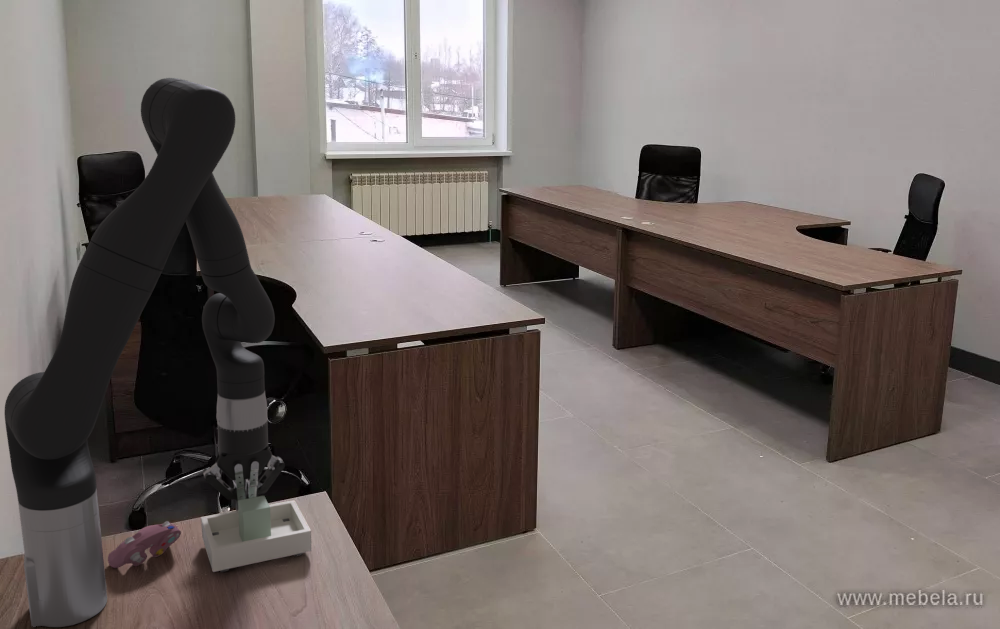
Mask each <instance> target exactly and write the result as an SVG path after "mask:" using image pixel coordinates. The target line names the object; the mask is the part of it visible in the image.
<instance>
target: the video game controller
mask: <svg viewBox="0 0 1000 629" xmlns="http://www.w3.org/2000/svg"><path fill="white" fill-rule="evenodd" d="M181 533H182V532H181V530H180V529H179V528H178V526H177V525H175V524H174V523H172V522H169V520H165V521H164V522H163V523H161V524H154V525H153V524H152V525H151V524H150V525H148V526H144V527H142V528H141V529H139V531H137V532H136V533H134V534H133V535H132V536H128V537H127V538H126V539H125V540H123V541H122V542H121V543H119V545H118V546H117V547H116V548H115V549H114V550H112V551H111V552H109V554H108V555H107V562H108V565H109V566H110V567H111V568H114V569H117V568H121V567H124V566H125V565H126V564H127V565H128V564H132V566H134V567H138V566H140V565H142V564H143V563H145V561H146V560H147V558H148V554H147V553H146V550H148V549H149V553H150V555H151V557H153V558H158V557H159V556H162V555H163V554H164V553H165V552H166V551H167V549H168V548H169V547H170V546H172V545H173V544H174V543H175V542H176V541H178V540H179V538H180V537H181Z"/></svg>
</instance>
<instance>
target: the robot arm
mask: <svg viewBox="0 0 1000 629" xmlns="http://www.w3.org/2000/svg"><path fill="white" fill-rule="evenodd" d="M140 117H141V121H142V124H143V127H144V130H145V132H146V134H147V136H148V138H149V140H150V143H151V145H152V148H154V151H155V153H156V155H157V156H156V158H155V160H154V162H153V164H152V165H151V168H150V170H149V171H148V174H147V175H146V177H145V178H144V179H143V181H142V182H141V184H140V185H139V186H138V187H137V188H136V189H135V190H134V191H133V192H132V193H130V195H128V196H127V197H126V198H125V199H124V200H123V201H122V202H121V203H119V204H118V205H117V206H116V207H115V208H114V209H113V210H112V211H111V212H110V213H109V214H107V215H106V217H105V218H104V219H103V220H102V221H101V223H100V224H99V225H98V227H97V228H96V230H95V231H94V233H93V234H92V236H91V238H90V240H89V243H88V245H87V247H86V249H85V251H84V253H83V255H82V257H81V259H80V261H79V264H78V266H77V268H76V271H75V274H74V276H73V280H72V282H71V283H72V284H71V286H70V290H69V294H68V298H67V305H66V308H65V315H64V320H63V324H62V325H63V326H62V331H61V333H60V338H59V341H58V343H57V346H56V349H55V351H54V353H53V356H52V357H51V359H50V361H49V363H48V365H47V367H46V368H45V371H42V372H36V373H33V374H30V375H28V376H25V377H23V378H22V379H21V380H20V381H18V382H17V383H15V385H14V386H13V387H12V389H11V390H10V391H9V392H8V395H7V396H6V399H5V404H4V422H5V430H6V432H5V433H6V437H7V445H8V451H9V458H10V466H11V474H12V478H13V481H14V485H15V490H16V495H17V503H18V513H19V519H20V528H21V536H22V543H23V544H22V545H23V550H24V555H23V556H24V559H23V569H24V576H25V585H26V593H27V594H26V595H27V600H28V601H27V602H28V609H29V611H28V612H29V617H30V618H29V619H30V623H31V625H30V626H31V627H32V626H33V627H32V628H36V626H37V627H41V626H42V627H48V628H62V627H63V628H65V627H70V626H74V625H76V624H80V623H83V622H86V621H87V620H89V619H91V618H93V617H94V616H97V615H98V614H99V613H100V612H102V610H103V609H104V608H105V607H106V605H107V602H108V594H107V592H108V591H107V590H108V589H107V583H106V582H107V581H106V571H105V560H104V551H103V541H102V540H103V539H102V532H101V531H102V530H101V520H100V510H99V501H98V500H99V498H98V489H97V487H98V486H97V476H96V470H95V467H94V464H93V460H92V457H91V453H90V448H89V444H88V443H89V441H88V438H89V437H90V435H91V434H92V432H93V431H94V428H95V426H96V422H97V420H98V417H99V414H100V411H101V408H102V405H103V402H104V399H105V395H106V393H107V390H108V388H109V384H110V381H111V378H112V376H113V373H114V371H115V368H116V366H117V364H118V361H119V359H120V357H121V355H122V353H123V351H124V350H125V348H126V346H127V344H128V341H129V340H130V338H131V336H132V333H133V331H134V329H135V327H136V325H137V323H138V321H139V319H140V317H141V315H142V312H143V311H144V309H145V307H146V305H147V303H148V301H149V300H150V298H151V295H152V293H153V291H154V289H155V287H156V285H157V283H158V281H159V278H160V276H161V274H162V273H163V271H164V268H165V265H166V263H167V261H168V258H169V257H170V254H171V251H172V249H173V247H174V245H175V244H176V241H177V238H178V237H179V234H180V233H181V230H183V227H184V225H185V224H186V227H187V231H188V232H189V236H190V239H191V243H192V248H193V251H194V253H195V258H196V261H197V264H198V269H199V271H200V274H201V279H202V280H203V283H204V285H205V286H206V287H208V289H211V290H212V291H214V292H217V293H215V294H212V296H210V297H209V298H208V299H207V301H206V302H205V304H204V307H203V309H202V315H201V323H202V324H201V325H202V330H203V334H204V336H205V339H206V343H207V345H208V348H209V352H210V355H211V357H212V360H213V363H214V365H215V369H216V382H217V384H216V386H217V401H216V415H215V417H216V421H217V422H216V424H217V440H218V441H217V443H218V444H217V446H218V453H217V455H216V456H215V463H214V464H213V465H211V467H207V468H204V469H203V470H202V473H203V478H204V479H205V481H206V482H207V483H208V484H209V485H210V486H212V487H213V488H214V489H215V490H216V491H217V492H218V493H219V494H220V495H221V496H223V497H224V498H225V499H226V500H227V501H230V500H235V511H237V510H238V500H243V499H249V498H254V497H258V496H259V495H261V494H262V495H264V494H266V493H268V491H269V490H270V489H271V487H272V485H273V484H274V483H275V481H276V480H277V478H278V477H279V476H280V475H281V473H282V472H283V470H284V469H285V467H286V463H285V462H284V461H283V459H282V457H280V456H275V455H273V453H272V451H271V450H270V448H269V430H268V429H269V428H268V426H269V424H268V423H269V420H268V402H267V397H266V389H265V387H266V386H265V382H266V381H265V363H264V360H263V358H262V357H261V356H260V355H258V354H256V353H255V352H253V351H250V350H248V349H246V348H245V347H244V346H243V343H248V344H259V343H263V342H264V341H265V340H267V339H268V338H269V337H270V336H271V335H272V332H273V330H274V327H275V322H276V317H275V311H274V307H273V304H272V301H271V300H270V297H269V296H268V293H267V292H266V290H265V289H264V286H263V285H262V283H261V282H260V280H259V277H258V276H257V275H256V273H255V272H254V270H253V268H252V266H251V261H250V257H249V253H248V249H247V243H246V239H245V238H244V237H245V236H244V234H243V231H242V228H241V225H240V223H239V221H238V219H237V217H236V214H235V213H234V211H233V209H232V208H231V205H230V204H229V202H228V200H227V199H226V197H225V195H224V193H223V192H222V190H221V188H220V186H219V184H218V182H217V180H216V178H215V176H214V173H213V172H214V171H215V169H216V167H217V166H218V163H220V161H221V160H222V158H223V156H224V154H225V153H226V150H227V149H228V147H229V145H230V142H231V141H232V137H233V135H234V134H235V133H234V132H235V127H236V112H235V108H234V106H233V102H232V101H231V100H230V98H229V97H228V96H227V95H226V93H224V92H222V91H221V90H219V89H216V88H214V87H211V86H207V85H205V84H202V83H201V84H200V83H198V82H194V81H191V80H190V81H189V80H185V79H182V78H175V77H166V78H160V79H157V81H155V82H153V83H152V84H151V85H149V87H148V88H147V89H146V91H144V94H143V96H142V99H141V103H140ZM266 466H267V469H266V470H265V468H266ZM264 470H265V471H264ZM220 471H221V472H223V473H224V475H225V476H227V477H228V478H229V480H232V482H233V488H232V487H231V486H230V485H228V484H227V483H226V482H225V481H224V480H223V479H222V478H221V477H222V475H221V472H220ZM263 471H264V472H263ZM262 473H263V474H262ZM261 474H262V476H261V477H260V478H259V476H260V475H261Z"/></svg>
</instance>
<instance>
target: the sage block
mask: <svg viewBox="0 0 1000 629" xmlns="http://www.w3.org/2000/svg"><path fill="white" fill-rule="evenodd" d="M265 496H266V495H260V496H259V495H258V496H256V497H254V498H249V499H243V500H238V513H239V535H240V538H241V540H242V542H244V541H249V540H254V539H259V538H264V537H269V536H271V521H270V506H269V505H270V504H269V502H268V501H267V499H266V497H265Z"/></svg>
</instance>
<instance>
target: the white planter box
mask: <svg viewBox="0 0 1000 629" xmlns="http://www.w3.org/2000/svg"><path fill="white" fill-rule="evenodd" d="M269 506H270V521H271V536H269V537H264V538H259V539H254V540H249V541H244V542H242V540H241V538H240V535H239V513H238V510H237V511H236V510H233V511H227V512H221V513H217V514H211V515H206V516H201V517H200V522H201V525H200V526H201V538H202V541H203V544H204V548H205V550H206V554H207V558H208V561H209V564H210V568H211V571H212V572H213V573H215V572H219V571H220V573H225V572H229V570H230V569H234V568H237V567H243V566H248V565H251V564H257V563H261V562H265V561H270V560H275V559H281V558H285V557H290V556H294V557H300V556H302V555H303V554H304V553H308V552H312V530H311V528H310V526H309V524H308V523H307V520H306V519H305V517H304V515H303V513H302V511H301V509H300V508H299V506H298V504H297V502H296V501H295V499H294V500H287V501H282V502H276V503H270V504H269Z"/></svg>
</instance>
